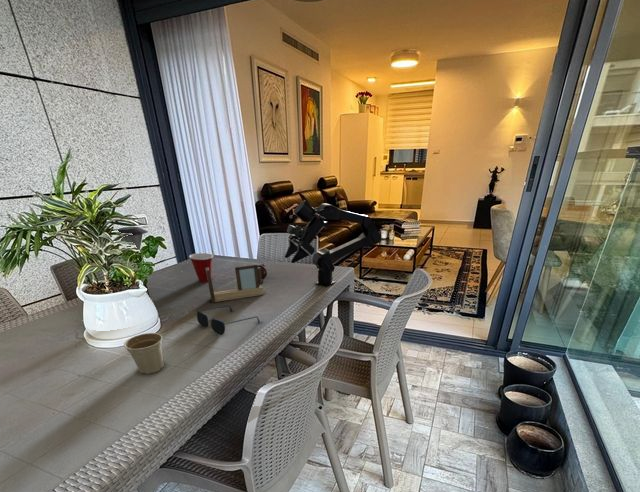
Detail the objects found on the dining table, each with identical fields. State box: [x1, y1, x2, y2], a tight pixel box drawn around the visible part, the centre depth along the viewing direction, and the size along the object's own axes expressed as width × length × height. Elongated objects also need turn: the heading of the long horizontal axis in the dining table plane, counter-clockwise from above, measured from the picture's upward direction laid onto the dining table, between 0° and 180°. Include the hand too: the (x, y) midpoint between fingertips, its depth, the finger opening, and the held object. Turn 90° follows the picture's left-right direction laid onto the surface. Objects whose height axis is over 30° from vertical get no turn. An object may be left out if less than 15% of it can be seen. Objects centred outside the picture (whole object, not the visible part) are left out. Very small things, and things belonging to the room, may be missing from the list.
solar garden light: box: [117, 226, 151, 298], centre depth 132 cm, size 12×12×30 cm
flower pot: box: [123, 332, 164, 375], centre depth 95 cm, size 9×9×9 cm
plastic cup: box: [188, 252, 214, 283], centre depth 166 cm, size 11×11×12 cm
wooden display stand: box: [205, 267, 265, 303], centre depth 144 cm, size 21×5×13 cm, turn 111°
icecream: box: [257, 263, 268, 280], centre depth 166 cm, size 7×7×15 cm
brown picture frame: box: [234, 264, 263, 291], centre depth 145 cm, size 10×2×11 cm, turn 111°
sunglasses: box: [196, 304, 260, 336], centre depth 122 cm, size 17×15×5 cm
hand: (288, 260), depth 148 cm, fingers open, 9 cm apart
